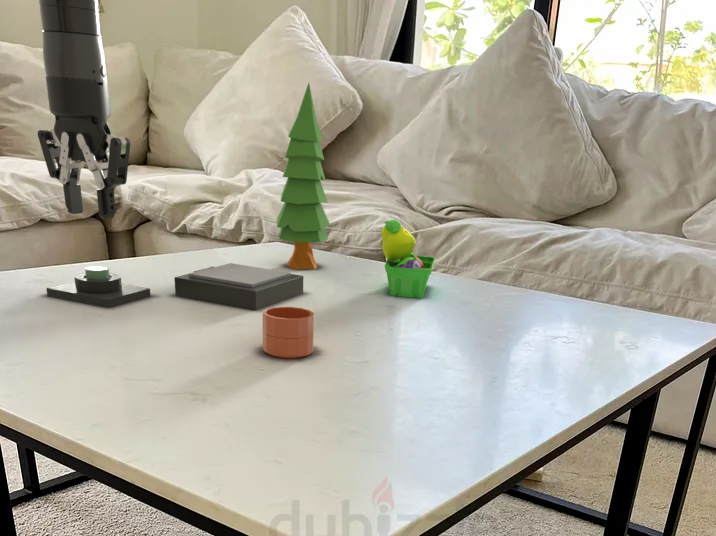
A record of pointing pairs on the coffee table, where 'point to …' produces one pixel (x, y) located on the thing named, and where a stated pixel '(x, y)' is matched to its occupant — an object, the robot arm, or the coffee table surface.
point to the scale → (239, 286)
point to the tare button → (97, 273)
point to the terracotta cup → (288, 332)
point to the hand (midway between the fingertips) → (91, 215)
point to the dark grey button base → (98, 291)
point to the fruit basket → (404, 262)
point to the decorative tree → (303, 188)
